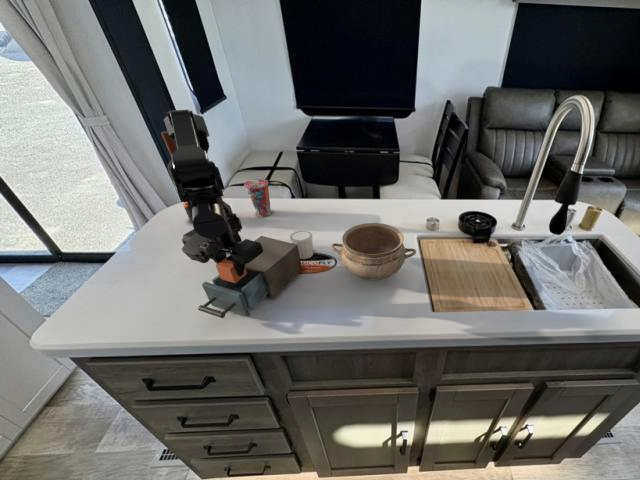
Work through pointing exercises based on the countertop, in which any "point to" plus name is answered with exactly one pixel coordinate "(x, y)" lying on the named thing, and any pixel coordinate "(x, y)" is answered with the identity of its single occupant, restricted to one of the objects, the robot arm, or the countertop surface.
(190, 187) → the robot arm
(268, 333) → the countertop surface
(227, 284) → the drawer
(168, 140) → the wine bottle
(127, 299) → the countertop surface
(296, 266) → the cabinet
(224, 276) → the block
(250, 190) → the cup
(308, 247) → the white short cylinder
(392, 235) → the cooking pot
